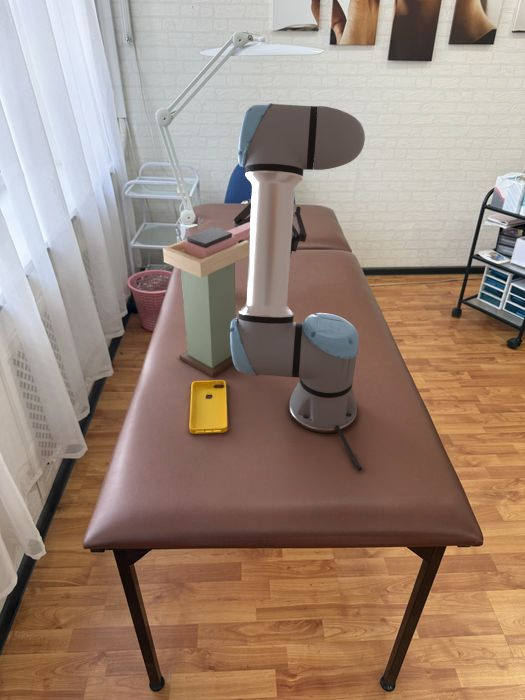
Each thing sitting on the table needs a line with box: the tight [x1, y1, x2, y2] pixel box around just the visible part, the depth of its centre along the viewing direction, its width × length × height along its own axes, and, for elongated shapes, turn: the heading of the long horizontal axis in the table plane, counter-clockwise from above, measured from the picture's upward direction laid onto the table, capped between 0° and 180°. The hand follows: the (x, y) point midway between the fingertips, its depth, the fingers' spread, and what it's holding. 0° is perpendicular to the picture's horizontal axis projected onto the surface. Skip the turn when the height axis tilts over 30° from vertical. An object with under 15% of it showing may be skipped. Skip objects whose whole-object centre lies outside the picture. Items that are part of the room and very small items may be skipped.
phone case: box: [188, 379, 229, 435], centre depth 116 cm, size 8×17×1 cm, turn 5°
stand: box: [162, 238, 250, 378], centre depth 124 cm, size 16×12×32 cm
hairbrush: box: [183, 222, 251, 259], centre depth 120 cm, size 22×7×4 cm, turn 140°
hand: (263, 254), depth 135 cm, fingers open, 13 cm apart
